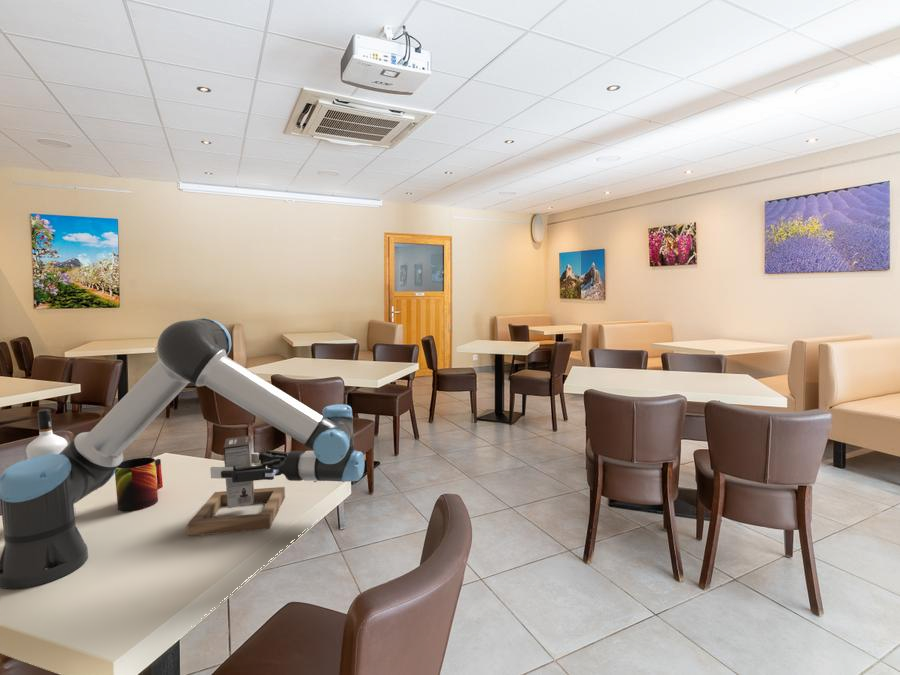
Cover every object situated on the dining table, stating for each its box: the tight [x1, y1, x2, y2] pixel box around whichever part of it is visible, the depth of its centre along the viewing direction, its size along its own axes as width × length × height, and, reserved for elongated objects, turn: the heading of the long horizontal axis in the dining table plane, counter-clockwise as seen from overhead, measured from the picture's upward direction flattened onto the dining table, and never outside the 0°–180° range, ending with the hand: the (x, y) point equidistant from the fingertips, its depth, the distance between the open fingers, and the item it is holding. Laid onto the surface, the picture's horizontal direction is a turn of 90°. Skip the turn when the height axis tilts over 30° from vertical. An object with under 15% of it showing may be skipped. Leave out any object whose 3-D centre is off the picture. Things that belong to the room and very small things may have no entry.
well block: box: [187, 486, 286, 536], centre depth 130 cm, size 20×19×3 cm
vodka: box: [25, 408, 77, 517], centre depth 127 cm, size 9×9×30 cm
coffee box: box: [223, 435, 255, 509], centre depth 129 cm, size 9×6×16 cm
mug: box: [114, 457, 163, 513], centre depth 140 cm, size 10×14×12 cm
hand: (224, 464), depth 130 cm, fingers closed on coffee box, 11 cm apart
